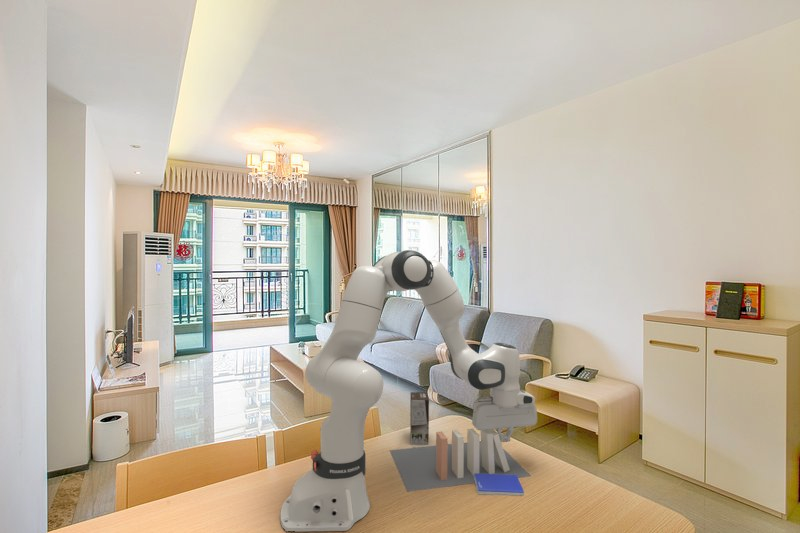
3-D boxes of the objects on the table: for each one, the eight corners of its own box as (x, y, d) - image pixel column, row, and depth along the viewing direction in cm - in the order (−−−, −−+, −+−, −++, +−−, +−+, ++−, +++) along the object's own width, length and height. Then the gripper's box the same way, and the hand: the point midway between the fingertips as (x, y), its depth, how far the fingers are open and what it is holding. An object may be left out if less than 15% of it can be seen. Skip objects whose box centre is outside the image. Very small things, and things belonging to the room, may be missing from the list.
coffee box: (429, 446, 140) (429, 399, 139) (410, 446, 140) (410, 399, 139) (427, 435, 149) (427, 391, 148) (410, 434, 149) (410, 391, 149)
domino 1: (457, 478, 118) (457, 437, 118) (451, 469, 123) (452, 430, 123) (463, 477, 119) (463, 436, 118) (457, 469, 123) (457, 430, 123)
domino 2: (473, 476, 119) (473, 435, 119) (467, 467, 124) (467, 429, 124) (479, 475, 120) (479, 435, 120) (472, 467, 125) (472, 428, 124)
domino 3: (489, 474, 120) (487, 434, 120) (482, 466, 125) (480, 427, 125) (494, 473, 121) (492, 433, 120) (487, 465, 126) (485, 427, 125)
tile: (441, 480, 117) (441, 439, 117) (436, 471, 122) (436, 431, 122) (447, 479, 117) (447, 438, 117) (441, 470, 122) (441, 431, 122)
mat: (407, 492, 111) (407, 491, 111) (389, 451, 136) (389, 450, 136) (531, 477, 120) (531, 476, 120) (494, 440, 144) (494, 439, 144)
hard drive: (478, 489, 110) (524, 491, 109) (473, 472, 118) (516, 474, 118) (477, 495, 110) (523, 496, 110) (473, 477, 118) (516, 479, 118)
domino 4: (504, 472, 121) (492, 436, 120) (497, 464, 126) (485, 429, 125) (509, 470, 122) (498, 433, 121) (502, 462, 127) (490, 427, 126)
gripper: (477, 401, 118) (476, 448, 119) (540, 397, 123) (539, 442, 123) (469, 395, 125) (468, 439, 125) (529, 391, 129) (528, 434, 129)
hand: (504, 441), depth 124 cm, fingers closed
